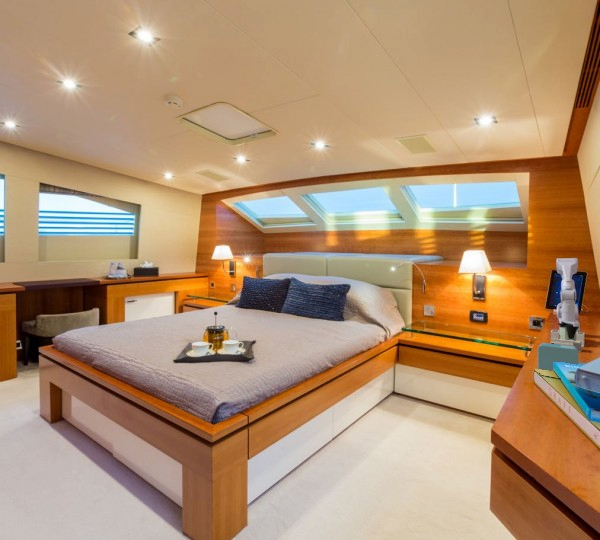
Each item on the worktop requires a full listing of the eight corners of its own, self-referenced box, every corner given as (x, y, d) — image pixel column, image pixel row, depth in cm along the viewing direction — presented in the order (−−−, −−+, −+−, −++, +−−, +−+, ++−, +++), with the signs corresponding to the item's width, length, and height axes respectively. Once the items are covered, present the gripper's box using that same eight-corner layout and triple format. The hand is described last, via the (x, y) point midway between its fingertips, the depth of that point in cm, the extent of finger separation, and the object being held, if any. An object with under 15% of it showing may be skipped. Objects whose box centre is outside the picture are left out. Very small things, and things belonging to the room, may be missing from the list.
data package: (578, 379, 131) (578, 346, 131) (577, 382, 128) (577, 349, 127) (539, 372, 139) (539, 342, 139) (537, 375, 136) (537, 344, 135)
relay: (573, 348, 173) (573, 340, 172) (581, 349, 171) (581, 340, 170) (573, 351, 169) (573, 342, 169) (581, 352, 167) (581, 343, 167)
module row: (552, 339, 191) (552, 328, 191) (584, 343, 183) (584, 331, 183) (550, 343, 184) (550, 331, 184) (583, 347, 175) (583, 334, 175)
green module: (560, 339, 193) (560, 326, 192) (571, 339, 192) (571, 326, 191) (565, 341, 188) (564, 328, 188) (576, 341, 187) (576, 328, 187)
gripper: (552, 310, 197) (552, 334, 198) (567, 314, 183) (567, 340, 183) (566, 310, 196) (566, 334, 196) (583, 314, 182) (583, 340, 182)
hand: (568, 337), depth 190 cm, fingers closed on green module, 4 cm apart
